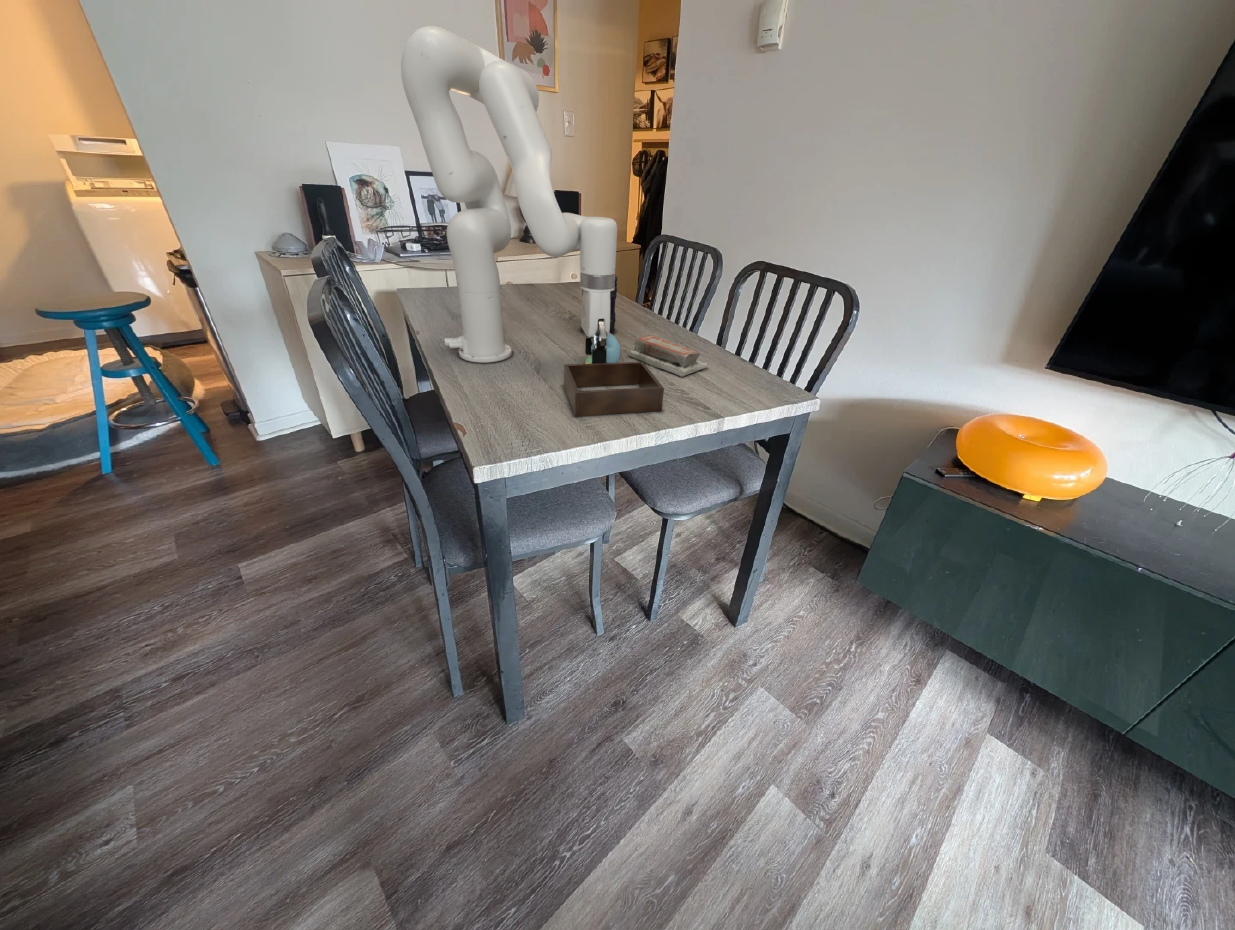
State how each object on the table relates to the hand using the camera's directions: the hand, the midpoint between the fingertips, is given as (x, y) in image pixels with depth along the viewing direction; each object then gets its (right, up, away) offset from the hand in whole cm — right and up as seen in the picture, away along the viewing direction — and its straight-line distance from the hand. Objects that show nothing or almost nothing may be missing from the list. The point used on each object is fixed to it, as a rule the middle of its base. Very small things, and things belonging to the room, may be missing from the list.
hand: (595, 359), depth 112 cm
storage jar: (0, +14, +26) cm, 30 cm away
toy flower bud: (0, -3, +1) cm, 3 cm away
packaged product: (+18, +1, +7) cm, 19 cm away
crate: (+4, -11, -13) cm, 17 cm away
